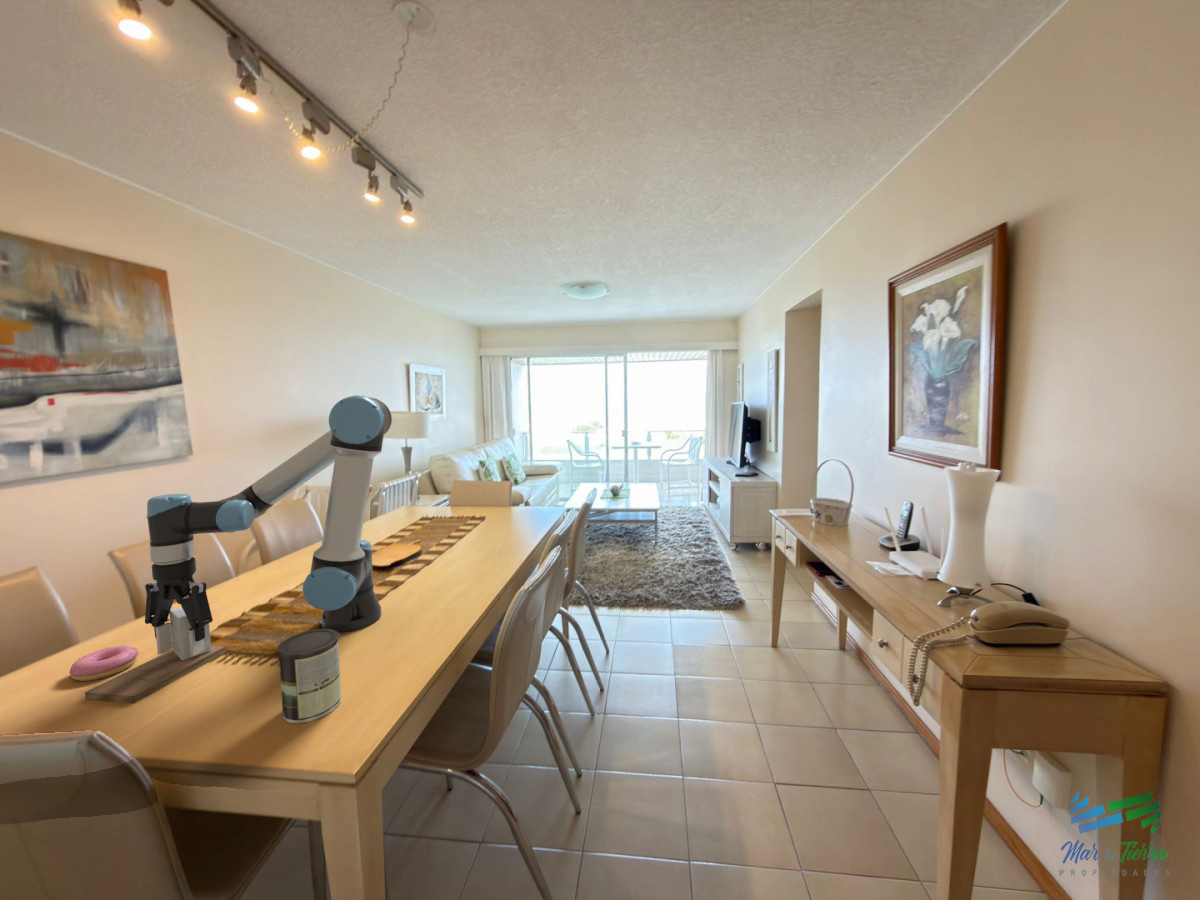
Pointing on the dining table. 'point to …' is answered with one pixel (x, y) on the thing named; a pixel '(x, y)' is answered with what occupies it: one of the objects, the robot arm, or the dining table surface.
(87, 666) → the doughnut
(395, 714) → the dining table surface
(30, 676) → the dining table surface
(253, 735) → the dining table surface
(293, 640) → the coffee can
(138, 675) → the board
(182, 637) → the small box
